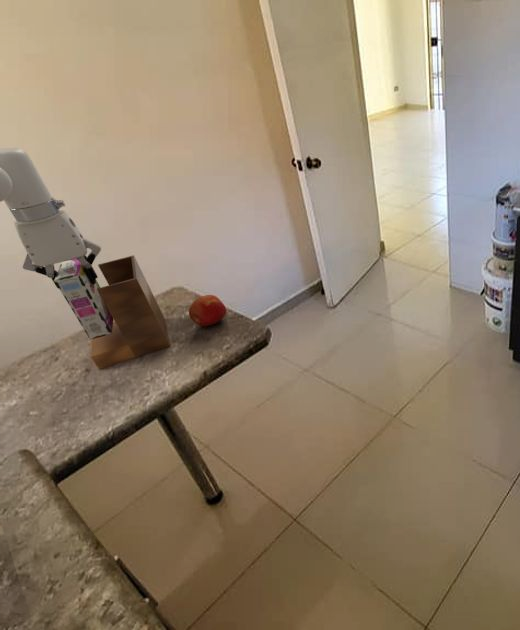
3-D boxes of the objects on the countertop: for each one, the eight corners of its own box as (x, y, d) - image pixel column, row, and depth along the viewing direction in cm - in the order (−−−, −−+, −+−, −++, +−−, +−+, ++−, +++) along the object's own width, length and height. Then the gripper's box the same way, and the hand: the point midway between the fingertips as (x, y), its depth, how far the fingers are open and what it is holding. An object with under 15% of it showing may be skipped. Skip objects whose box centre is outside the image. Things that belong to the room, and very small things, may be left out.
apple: (233, 320, 119) (224, 296, 114) (204, 335, 114) (193, 310, 110) (219, 311, 124) (209, 287, 119) (190, 325, 119) (179, 300, 114)
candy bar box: (114, 333, 104) (79, 274, 95) (90, 340, 103) (52, 280, 93) (116, 312, 113) (84, 255, 104) (93, 318, 111) (59, 261, 102)
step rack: (99, 370, 105) (54, 301, 94) (100, 339, 116) (59, 274, 104) (170, 346, 111) (136, 278, 100) (164, 318, 122) (133, 255, 111)
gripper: (83, 197, 97) (120, 268, 107) (-12, 216, 90) (38, 290, 101) (82, 206, 92) (121, 280, 102) (-19, 227, 85) (34, 304, 95)
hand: (79, 284), depth 101 cm, fingers closed on candy bar box, 5 cm apart
